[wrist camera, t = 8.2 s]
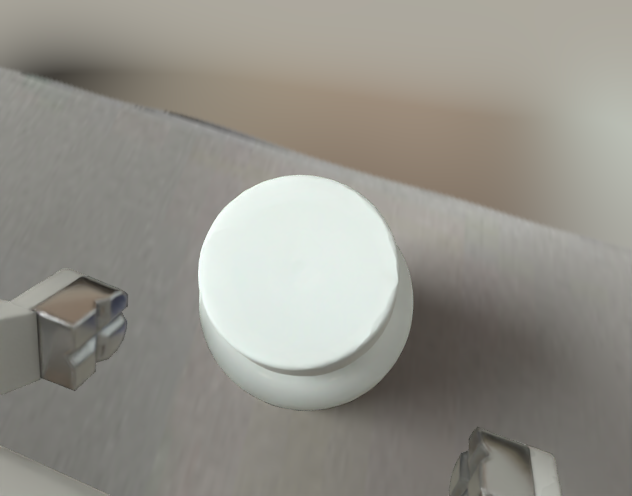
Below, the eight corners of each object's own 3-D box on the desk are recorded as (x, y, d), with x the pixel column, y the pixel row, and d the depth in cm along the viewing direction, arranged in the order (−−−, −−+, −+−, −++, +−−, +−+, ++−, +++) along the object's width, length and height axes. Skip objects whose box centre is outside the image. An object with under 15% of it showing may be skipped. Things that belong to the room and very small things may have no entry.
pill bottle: (250, 265, 20) (177, 140, 11) (385, 268, 20) (432, 143, 10) (239, 406, 18) (141, 406, 9) (386, 412, 18) (442, 417, 9)
